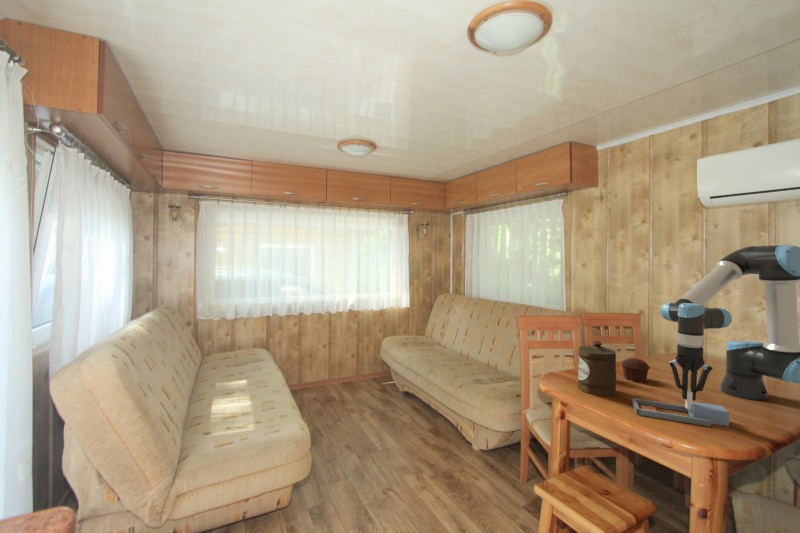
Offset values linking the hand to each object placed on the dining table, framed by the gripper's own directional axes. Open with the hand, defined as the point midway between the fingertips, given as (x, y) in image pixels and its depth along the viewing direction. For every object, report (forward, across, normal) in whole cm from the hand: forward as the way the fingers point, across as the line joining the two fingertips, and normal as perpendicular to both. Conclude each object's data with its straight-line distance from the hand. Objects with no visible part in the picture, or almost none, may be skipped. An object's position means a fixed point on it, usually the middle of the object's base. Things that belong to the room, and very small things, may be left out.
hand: (688, 408), depth 133 cm
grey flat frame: (+3, +6, 0) cm, 7 cm away
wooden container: (+4, +29, -16) cm, 33 cm away
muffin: (+4, +11, -41) cm, 43 cm away
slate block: (+3, -6, 0) cm, 7 cm away
